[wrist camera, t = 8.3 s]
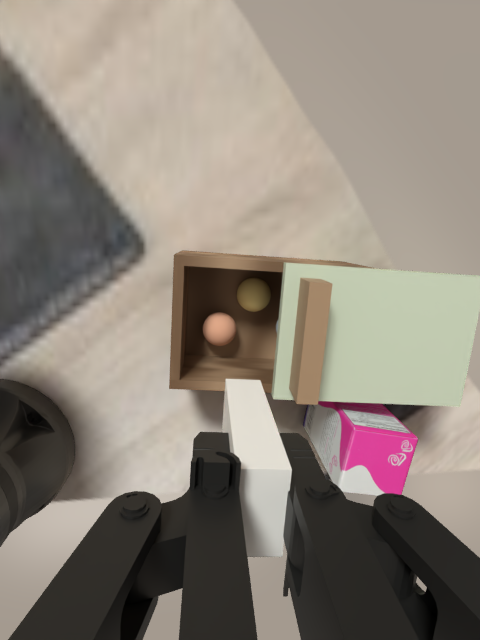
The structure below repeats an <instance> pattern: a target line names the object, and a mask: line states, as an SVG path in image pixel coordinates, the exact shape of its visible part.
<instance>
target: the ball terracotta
mask: <svg viewBox="0 0 480 640" xmlns="http://www.w3.org/2000/svg"><path fill="white" fill-rule="evenodd" d="M203 334H204V337H205V338H206V340H207V341H208V342H209V343H211V344H213V345H216V346H223V345H226V344H228V343H230V342H231V341H232V340H233V338H234V337H235V334H236V324H235V321H234V320H233V318H232V317H231V316H229V315H228V314H226V313H222V312H217V313H213V314H211V315H210V316H208V317H207V319H206V320H205V322H204V324H203Z"/></svg>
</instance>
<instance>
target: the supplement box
mask: <svg viewBox="0 0 480 640" xmlns="http://www.w3.org/2000/svg"><path fill="white" fill-rule="evenodd" d="M303 426H304V428H305V430H306V432H307V434H308V436H309V438H310V440H311V441H312V443H313V445H314V447H315V449H316V451H317V453H318V455H319V457H320V459H321V461H322V463H323V465H324V466H325V468H326V470H327V472H328V474H329V476H330V478H331V480H332V482H333V483H334V484H336V485H337V486H338V487H339V488H340V489H341V490H342V492H347V493H357V494H367V495H374V496H378V495H381V494H384V493H394V494H400V495H401V494H402V491H403V487H404V484H405V481H406V477H407V474H408V471H409V467H410V464H411V461H412V458H413V454H414V451H415V448H416V445H417V441H418V438H417V437H416V436H415V435H414V434H413V433H412V432H411V431H410V430H409V429H408V428H407V427H406V426H405V425H403V424H402V423H401V422H400V421H399V420H398V419H397V418H396V417H395V416H394V415H393V414H392V413H391V412H390V411H389V410H388V409H387V408H386V407H384V406H383V405H382V404H380V403H355V402H330V401H318V405H309V404H308V406H307V410H306V414H305V418H304V422H303Z"/></svg>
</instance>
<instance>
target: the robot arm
mask: <svg viewBox="0 0 480 640" xmlns="http://www.w3.org/2000/svg"><path fill="white" fill-rule="evenodd" d="M74 456H75V444H74V438H73V434H72V431H71V428H70V426H69V424H68V422H67V420H66V418H65V416H64V415H63V414H62V412H61V411H60V410H59V408H58V407H57V406H56V405H55V404H54V403H53V402H52V401H51V400H50V399H48V398H47V397H46V396H44V395H43V394H42V393H40V392H38V391H37V390H35V389H33V388H31V387H29V386H26V385H24V384H21V383H18V382H14V381H10V380H4V379H0V547H1V545H2V543H3V542H4V541H5V539H6V538H7V536H8V535H9V533H10V532H12V531H13V530H14V529H16V528H17V527H18V526H19V525H20V524H21V523H22V522H23V521H24V520H26V519H27V518H29V517H31V516H33V515H34V514H36V513H38V512H39V511H40V510H42V509H43V508H44V507H46V506H47V505H48V504H49V503H50V502H51V501H52V500H53V499H54V498H55V496H56V495H57V494H58V492H59V491H60V489H61V488H62V486H63V484H64V483H65V481H66V479H67V478H68V476H69V474H70V472H71V469H72V466H73V462H74ZM284 542H285V546H286V549H287V562H286V571H285V580H284V588H283V589H284V590H283V596H288V588H290V592H291V597H292V601H293V606H294V609H295V614H296V618H297V623H298V627H299V632H300V636H301V640H480V558H479V557H478V556H477V555H476V554H475V553H474V552H472V551H471V550H470V549H469V548H468V547H467V546H466V545H464V544H463V543H462V542H461V541H460V540H459V539H458V538H457V537H456V536H454V535H453V534H452V533H451V532H450V531H449V530H448V529H447V528H445V527H444V526H443V525H442V524H441V523H440V522H439V521H437V519H435V518H434V517H433V516H432V515H431V514H430V513H429V512H428V511H426V510H425V509H424V508H423V507H422V506H421V505H419V504H418V503H417V502H415V501H413V500H412V499H410V498H407V497H405V496H403V495H400V494H394V493H384V494H381V495H378V496H377V497H376V499H375V500H374V506H369V505H365V504H360V503H356V502H353V501H350V500H347V499H346V497H345V496H344V494H343V492H342V490H341V489H340V488H339V487H338V486H337V485H336V484H334V483H333V482H331V481H329V480H326V478H325V476H324V474H323V472H322V470H321V468H320V466H319V464H318V462H317V459H316V458H315V455H314V453H313V451H312V449H311V447H310V445H309V443H308V441H307V440H306V439H305V438H303V437H302V436H301V435H300V434H298V433H279V432H278V429H277V426H276V423H275V420H274V417H273V415H272V412H271V409H270V406H269V403H268V401H267V398H266V395H265V392H264V389H263V386H262V384H261V381H260V380H246V379H226V380H225V395H224V409H223V424H222V433H221V432H200V433H199V434H198V435H197V436H196V437H195V439H194V444H193V458H192V461H191V473H190V488H189V489H188V491H187V492H186V493H185V494H184V495H183V496H182V497H180V498H178V499H176V500H173V501H170V502H166V503H162V504H161V502H160V500H159V499H158V498H157V497H156V496H155V495H153V494H150V493H147V492H138V491H134V492H129V493H125V494H123V495H121V496H118V497H116V498H115V499H114V500H113V501H112V502H111V503H110V504H109V505H108V506H107V507H106V509H105V510H104V512H103V513H102V514H101V516H100V517H99V518H98V519H97V521H96V522H95V524H94V525H93V526H92V528H91V529H90V530H89V532H88V533H87V535H86V536H85V537H84V538H83V540H82V541H81V542H80V544H79V545H78V547H77V548H76V549H75V550H74V552H73V553H72V555H71V556H70V557H69V559H68V560H67V561H66V563H65V564H64V566H63V567H62V568H61V569H60V571H59V572H58V574H57V575H56V576H55V577H54V579H53V580H52V581H51V583H50V584H49V586H48V587H47V588H46V590H45V591H44V592H43V594H42V595H41V596H40V598H39V599H38V600H37V602H36V603H35V604H34V606H33V607H32V608H31V610H30V611H29V613H28V614H27V615H26V617H25V618H24V619H23V621H22V622H21V623H20V625H19V626H18V627H17V629H16V630H15V631H14V633H13V634H12V635H11V637H10V638H9V639H8V640H142V639H143V637H144V634H145V632H146V630H147V627H148V625H149V622H150V620H151V617H152V614H153V612H154V610H155V607H156V605H157V601H158V596H159V595H162V594H165V593H169V592H172V591H175V590H178V589H181V588H183V590H182V604H181V618H180V633H179V640H257V632H256V624H255V616H254V608H253V600H252V592H251V583H250V575H249V568H248V559H247V557H282V555H283V546H284ZM417 576H418V577H419V579H420V580H421V581H422V582H423V583H424V584H425V586H426V587H427V590H426V592H424V591H423V590H422V589H421V588H420V587H419V586H418V585H417V583H416V579H417Z"/></svg>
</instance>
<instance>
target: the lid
mask: <svg viewBox="0 0 480 640" xmlns="http://www.w3.org/2000/svg"><path fill="white" fill-rule="evenodd" d="M479 311H480V276H476V275H461V274H460V275H459V274H447V273H431V272H417V271H402V270H388V269H373V268H359V267H344V266H329V265H315V264H300V263H286V262H284V266H283V277H282V287H281V298H280V308H279V319H278V330H277V340H276V351H275V362H274V372H273V383H272V394H271V395H272V397H273V399H280V400H295V402H296V404H309V405H318V401H330V402H355V403H380V404H405V405H430V406H454V407H460V405H461V400H462V395H463V390H464V385H465V380H466V375H467V370H468V365H469V361H470V356H471V350H472V346H473V341H474V336H475V331H476V325H477V321H478V316H479Z"/></svg>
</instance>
